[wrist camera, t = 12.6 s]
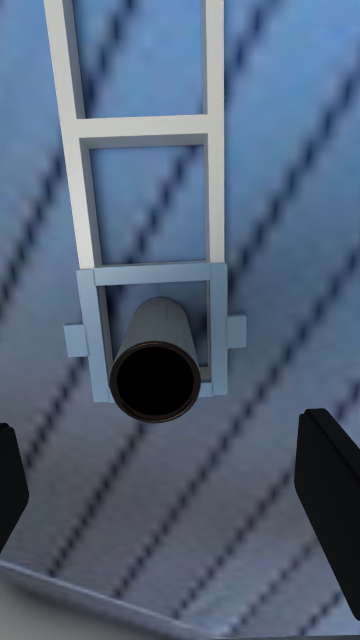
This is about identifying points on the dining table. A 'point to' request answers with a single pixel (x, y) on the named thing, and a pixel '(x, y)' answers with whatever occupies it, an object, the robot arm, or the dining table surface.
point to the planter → (156, 364)
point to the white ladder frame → (77, 142)
